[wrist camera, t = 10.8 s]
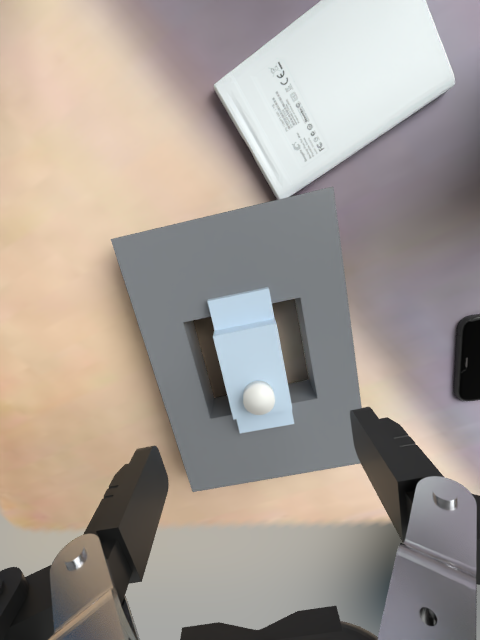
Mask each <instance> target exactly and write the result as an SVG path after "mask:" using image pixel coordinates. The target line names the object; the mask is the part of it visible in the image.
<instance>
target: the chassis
mask: <svg viewBox="0 0 480 640" xmlns="http://www.w3.org/2000/svg"><path fill="white" fill-rule="evenodd" d="M111 241H112V244H113V248H114V251H115V254H116V257H117V260H118V263H119V266H120V269H121V272H122V275H123V278H124V281H125V285H126V288H127V291H128V294H129V297H130V300H131V303H132V306H133V309H134V312H135V315H136V319H137V322H138V325H139V328H140V331H141V334H142V337H143V340H144V343H145V346H146V349H147V352H148V356H149V359H150V362H151V365H152V368H153V371H154V374H155V377H156V380H157V383H158V386H159V390H160V393H161V396H162V399H163V402H164V405H165V408H166V411H167V414H168V417H169V420H170V423H171V427H172V430H173V433H174V436H175V439H176V442H177V445H178V448H179V451H180V454H181V457H182V461H183V464H184V467H185V470H186V473H187V476H188V479H189V482H190V485H191V488H192V491H193V492H196V491H202V490H208V489H213V488H219V487H225V486H231V485H237V484H243V483H248V482H254V481H260V480H266V479H272V478H278V477H283V476H289V475H295V474H301V473H307V472H313V471H318V470H324V469H330V468H336V467H342V466H348V465H353V464H359V463H361V462H360V461H359V459H358V456H357V454H356V451H355V447H354V442H353V435H352V427H351V420H350V410H355V409H360V408H361V400H360V392H359V384H358V376H357V368H356V361H355V353H354V345H353V337H352V329H351V321H350V314H349V306H348V298H347V290H346V282H345V274H344V267H343V259H342V251H341V243H340V235H339V227H338V220H337V212H336V204H335V196H334V188H333V187H330V188H325V189H321V190H317V191H313V192H308V193H304V194H300V195H296V196H292V197H287V198H283V199H279V200H275V201H270V202H266V203H262V204H258V205H254V206H249V207H245V208H241V209H237V210H232V211H228V212H224V213H220V214H216V215H211V216H207V217H203V218H199V219H194V220H190V221H186V222H182V223H178V224H173V225H169V226H165V227H161V228H156V229H152V230H148V231H144V232H140V233H135V234H131V235H127V236H123V237H119V238H114V239H111ZM266 287H268V288H269V292H270V297H271V302H272V303H277V302H281V301H286V300H291V299H295V304H296V310H297V316H298V321H299V327H300V333H301V338H302V344H303V350H304V356H305V361H306V367H307V373H308V378H309V380H304V381H299V382H294V383H289V384H288V387H289V393H290V398H291V403H292V414H293V419H294V424H291V425H285V426H280V427H274V428H268V429H263V430H257V431H251V432H245V433H240V432H239V428H238V424H237V420H236V419H234V420H233V416H232V412H231V408H230V404H229V400H228V396H221V397H216V398H214V395H213V392H212V388H211V384H210V381H209V377H208V373H207V370H206V366H205V362H204V359H203V355H202V351H201V348H200V344H199V340H198V337H197V333H196V329H195V326H194V322H193V320H197V319H201V318H206V317H211V314H210V310H209V306H208V302H207V301H208V300H209V299H213V298H218V297H223V296H228V295H233V294H238V293H242V292H247V291H252V290H257V289H262V288H266Z"/></svg>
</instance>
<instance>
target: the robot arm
mask: <svg viewBox="0 0 480 640" xmlns="http://www.w3.org/2000/svg"><path fill="white" fill-rule="evenodd" d="M350 420H351V427H352V435H353V442H354V447H355V451H356V454H357V456H358V459H359V461H360V462H361V464H362V466H363V468H364V470H365V472H366V474H367V476H368V478H369V480H370V481H371V483H372V485H373V487H374V489H375V491H376V493H377V495H378V497H379V498H380V500H381V502H382V504H383V506H384V508H385V510H386V512H387V514H388V515H389V517H390V519H391V521H392V523H393V525H394V527H395V528H396V530H397V533H398V534H399V536H400V538H401V540H402V542H404V544H402V543H400V545H399V547H398V550H397V555H396V559H395V564H394V568H393V572H392V577H391V582H390V586H389V591H388V595H387V599H386V604H385V608H384V613H383V617H382V622H381V626H380V631H379V636H378V637H377V636H375V635H374V634H372V633H371V632H369V631H367V630H365V629H363V628H361V627H359V626H356V625H353V624H350V623H347V622H342V621H340V619H339V615H338V611H337V607H336V606H332V607H324V608H317V609H310V610H303V611H297V612H295V613H293V614H291V615H289V616H287V617H285V618H283V619H281V620H279V621H277V622H275V623H273V624H271V625H269V626H267V627H265V628H263V629H260V630H253V629H247V628H243V627H238V626H234V625H229V624H224V623H212V624H205V625H198V626H191V627H184V628H182V632H181V639H180V640H476V591H477V590H476V589H477V588H476V587H477V584H479V585H480V496H478V495H474V494H471V493H470V491H469V490H468V489H466V488H465V487H464V486H463V485H461V484H459V483H458V482H456V481H453V480H451V479H448V478H445V477H444V476H443V475H442V474H441V473H440V472H439V471H438V469H437V468H436V467H435V466H434V465H433V463H432V462H431V461H430V460H429V459H428V457H427V456H426V455H425V454H424V453H423V452H422V450H421V449H420V448H419V447H418V446H417V445H416V444H415V442H414V441H413V440H412V439H411V437H409V436H408V434H407V433H406V431H405V430H404V429H403V428H402V427H401V426H400V425H399V424H398V423H396V422H394V421H393V420H391V419H389V418H382V419H379V418H378V417H377V416H376V414H375V413H374V412H373V410H372V409H371V408H370V407H366V408H360V409H355V410H350ZM167 492H168V476H167V473H166V470H165V467H164V464H163V461H162V458H161V455H160V453H159V450H158V448H157V447H156V446H151V447H145V448H140V449H137V450H136V451H135V453H134V455H133V457H132V459H131V461H130V463H129V464H125V465H124V466H123V467H122V468H121V469H120V470H119V471H118V472H117V474H116V475H115V476H114V478H113V480H112V482H111V484H110V485H109V489H107V491H106V493H105V495H104V499H102V500H101V502H100V504H99V506H98V508H97V510H96V512H95V514H94V515H93V517H92V519H91V521H90V523H89V525H88V527H87V529H86V531H85V532H84V534H83V535H82V536H79V537H77V538H75V539H74V540H72V541H71V542H70V543H68V544H67V545H66V546H65V547H64V548H63V549H62V550H61V551H60V552H59V553H58V555H57V556H56V558H55V559H54V561H53V563H52V565H50V566H48V567H46V568H44V569H42V570H40V571H37V572H35V573H33V574H31V575H29V576H27V577H24V575H23V573H22V571H21V570H20V569H19V568H17V567H11V568H7V569H4V570H2V571H0V640H140V639H139V635H138V633H137V629H136V626H135V623H134V620H133V617H132V614H131V610H130V608H129V604H128V601H127V599H126V596H125V593H126V590H127V587H128V584H129V583H135V582H142V579H143V575H144V572H145V568H146V565H147V561H148V558H149V555H150V551H151V548H152V544H153V541H154V537H155V534H156V530H157V527H158V524H159V520H160V517H161V513H162V510H163V506H164V503H165V499H166V496H167Z"/></svg>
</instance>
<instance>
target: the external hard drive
mask: <svg viewBox="0 0 480 640" xmlns="http://www.w3.org/2000/svg"><path fill="white" fill-rule="evenodd" d="M454 84H455V77H454V74H453V71H452V68H451V66H450V63H449V60H448V58H447V55H446V52H445V50H444V47H443V44H442V42H441V39H440V37H439V34H438V32H437V29H436V27H435V24H434V21H433V18H432V16H431V13H430V11H429V8H428V6H427V3H426V0H321V1H320V2H319V3H317V4H316V5H315V6H314V7H312V8H311V9H310V10H308V11H307V12H306V13H305V14H303V15H302V16H301V17H299V18H298V19H297V20H295V21H294V22H293V23H292V24H290V25H289V26H288V27H287V28H285V29H284V30H283V31H282V32H280V33H279V34H278V35H277V36H275V37H274V38H273V39H271V40H270V41H269V42H268V43H266V44H265V45H264V46H263V47H261V48H260V49H259V50H258V51H256V52H255V53H254V54H252V55H251V56H250V57H248V58H247V59H246V60H245V61H243V62H242V63H241V64H240V65H238V66H237V67H236V68H235V69H233V70H232V71H231V72H230V73H228V74H227V75H226V76H224V77H223V78H222V79H220V80H219V81H218V82H217V83H215V84H214V89H215V92H216V93H217V95H218V97H219V99H220V100H221V102H222V104H223V106H224V107H225V109H226V111H227V113H228V114H229V116H230V118H231V119H232V121H233V123H234V125H235V126H236V128H237V130H238V132H239V133H240V135H241V137H242V139H244V141H245V142H246V144H247V146H248V148H249V150H250V151H251V153H252V155H253V157H254V159H255V161H256V163H257V165H258V167H259V168H260V170H261V172H262V174H263V175H264V177H265V179H266V181H267V182H268V184H269V186H270V188H271V189H272V191H273V193H274V195H275V196H276V198H277V200H279V199H283V198H287V197H291V196H292V195H294V194H295V193H297V192H298V191H300V190H301V189H303V188H304V187H305V186H307V185H308V184H310V183H311V182H313V181H314V180H316V179H317V178H319V177H320V176H322V175H323V174H325V173H326V172H328V171H329V170H331V169H332V168H334V167H335V166H337V165H338V164H340V163H341V162H343V161H344V160H346V159H347V158H349V157H350V156H352V155H353V154H355V153H356V152H358V151H359V150H360V149H362V148H363V147H365V146H366V145H368V144H369V143H371V142H372V141H374V140H375V139H377V138H378V137H380V136H381V135H383V134H384V133H386V132H387V131H389V130H390V129H392V128H393V127H394V126H396V125H397V124H399V123H400V122H402V121H403V120H405V119H406V118H408V117H409V116H411V115H412V114H414V113H415V112H417V111H418V110H420V109H421V108H423V107H424V106H425V105H427V104H428V103H430V102H431V101H433V100H434V99H436V98H437V97H439V96H440V95H442V94H443V93H445V92H446V91H447V90H449V89H450V88H452V87H453V86H454Z"/></svg>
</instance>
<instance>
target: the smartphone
mask: <svg viewBox="0 0 480 640" xmlns="http://www.w3.org/2000/svg"><path fill="white" fill-rule="evenodd" d="M454 394H455V396H456V397H457V398H458V399H460V400H462V401H475V400H480V314H476V315H470V316H467V317H465V318H463V319H462V320H461V321H460V322H459V324H458V327H457V335H456V353H455V372H454Z"/></svg>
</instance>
